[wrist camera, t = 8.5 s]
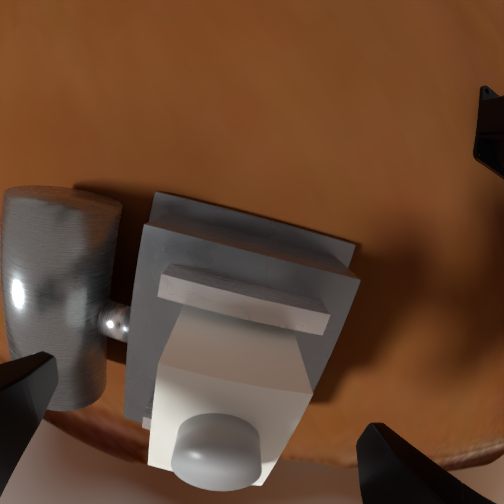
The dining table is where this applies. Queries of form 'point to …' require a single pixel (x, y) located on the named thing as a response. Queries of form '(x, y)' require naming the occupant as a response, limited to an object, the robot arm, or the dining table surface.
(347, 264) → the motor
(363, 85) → the dining table surface
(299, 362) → the white knobbed block
